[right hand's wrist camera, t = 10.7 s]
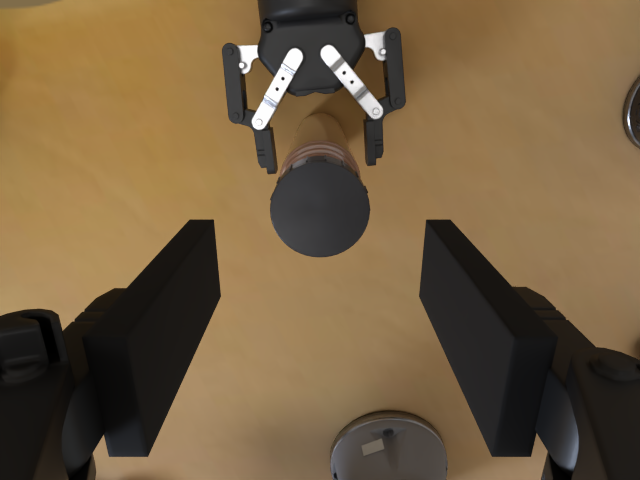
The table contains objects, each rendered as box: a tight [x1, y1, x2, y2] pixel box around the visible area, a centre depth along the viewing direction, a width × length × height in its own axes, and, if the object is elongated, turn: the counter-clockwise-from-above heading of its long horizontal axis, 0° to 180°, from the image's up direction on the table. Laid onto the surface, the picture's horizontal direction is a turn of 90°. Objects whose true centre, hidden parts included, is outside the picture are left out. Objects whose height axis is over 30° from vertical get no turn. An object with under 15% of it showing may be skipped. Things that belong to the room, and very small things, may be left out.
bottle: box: [280, 113, 360, 177], centre depth 31 cm, size 5×5×25 cm
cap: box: [270, 155, 370, 257], centre depth 20 cm, size 4×4×2 cm
